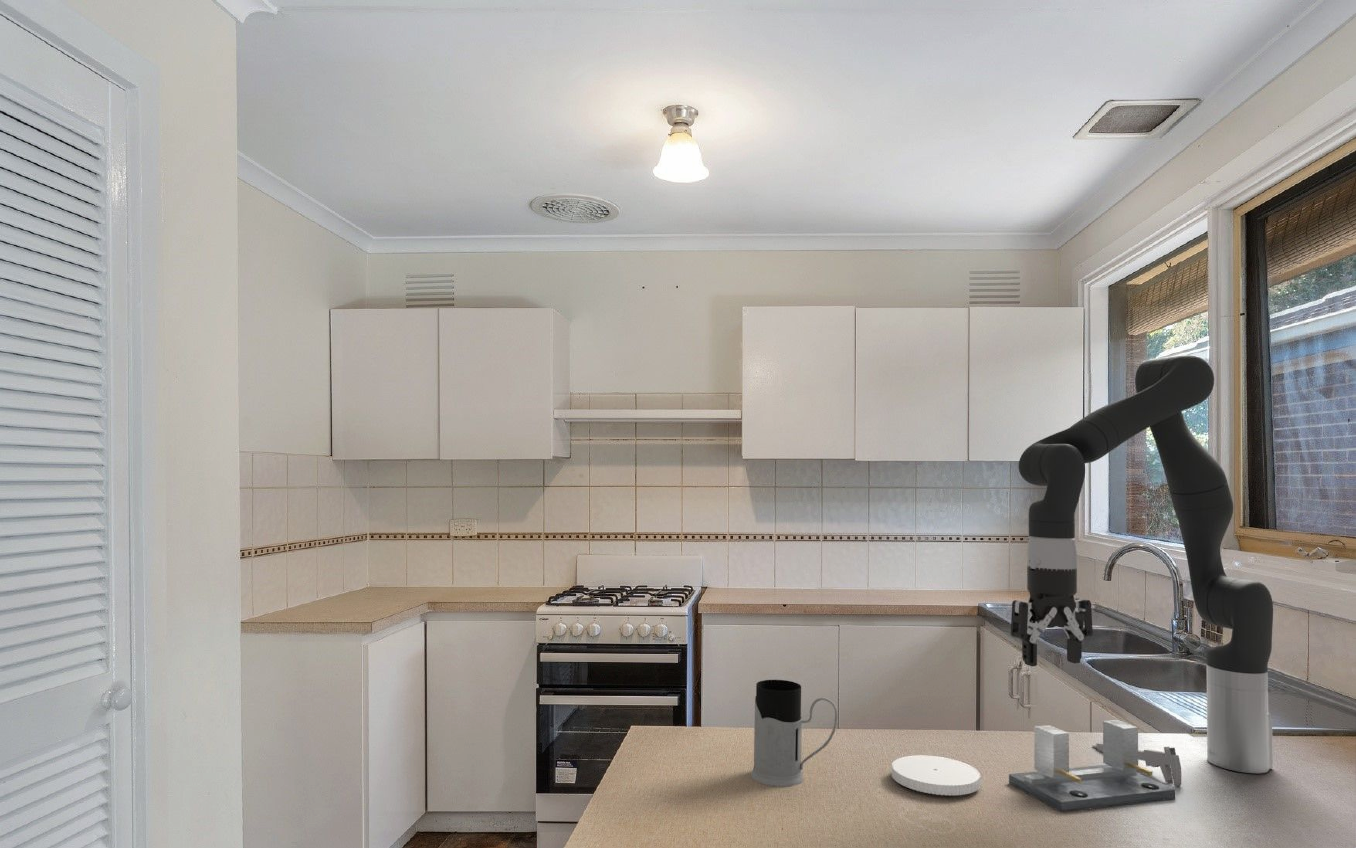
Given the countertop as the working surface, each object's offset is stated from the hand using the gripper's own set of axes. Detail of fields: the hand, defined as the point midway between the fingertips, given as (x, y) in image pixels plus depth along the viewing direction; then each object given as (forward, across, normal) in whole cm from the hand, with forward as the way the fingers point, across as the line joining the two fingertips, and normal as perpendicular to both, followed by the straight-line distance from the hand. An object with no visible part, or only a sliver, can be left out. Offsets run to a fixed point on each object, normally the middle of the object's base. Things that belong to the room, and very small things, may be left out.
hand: (1052, 663), depth 138 cm
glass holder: (+20, +40, -14) cm, 47 cm away
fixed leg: (+18, -14, +2) cm, 22 cm away
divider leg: (+17, 0, +2) cm, 18 cm away
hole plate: (+20, -6, +2) cm, 21 cm away
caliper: (+21, -22, -6) cm, 31 cm away
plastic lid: (+21, +18, -7) cm, 28 cm away
